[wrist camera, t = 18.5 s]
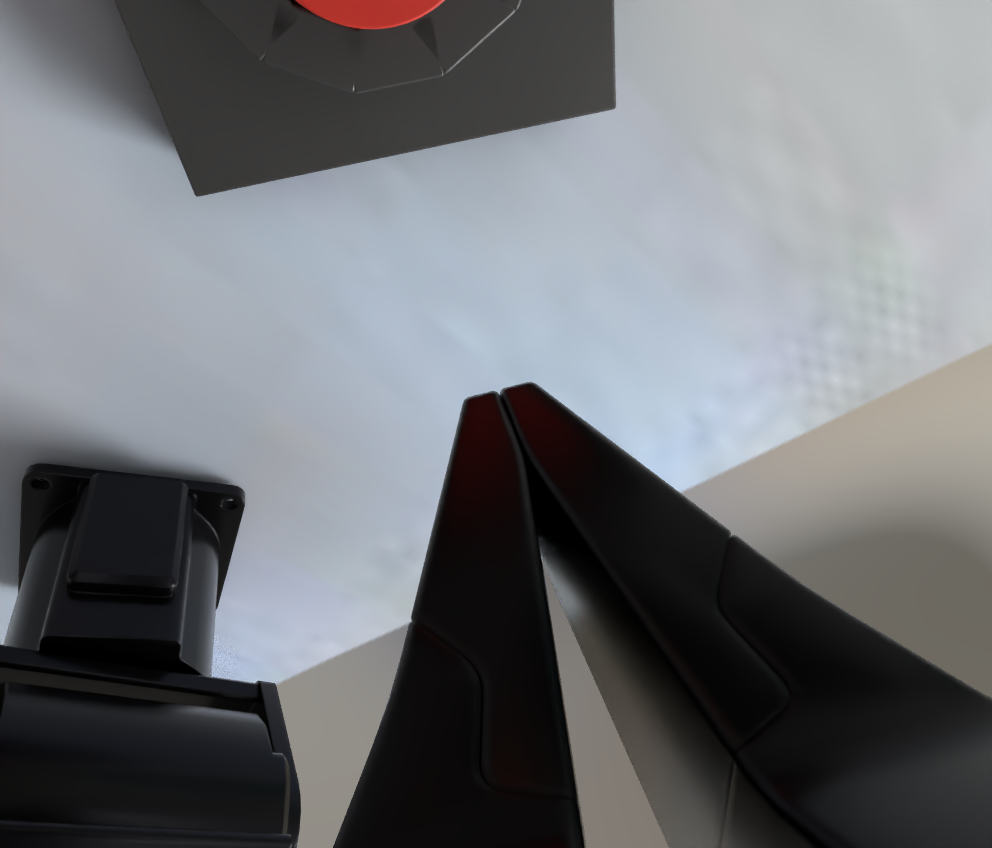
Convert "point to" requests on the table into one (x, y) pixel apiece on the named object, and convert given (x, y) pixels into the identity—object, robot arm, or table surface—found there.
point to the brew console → (360, 79)
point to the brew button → (370, 11)
